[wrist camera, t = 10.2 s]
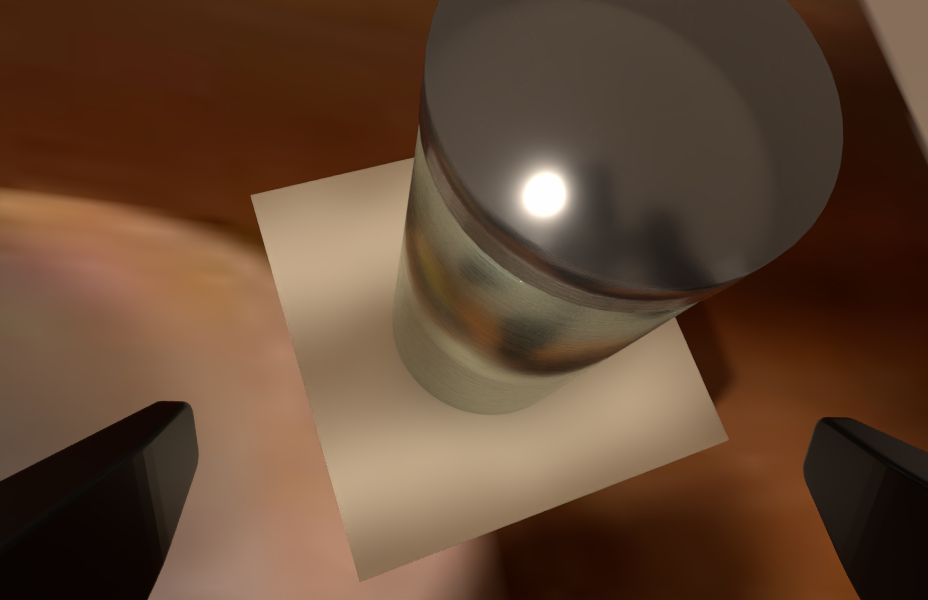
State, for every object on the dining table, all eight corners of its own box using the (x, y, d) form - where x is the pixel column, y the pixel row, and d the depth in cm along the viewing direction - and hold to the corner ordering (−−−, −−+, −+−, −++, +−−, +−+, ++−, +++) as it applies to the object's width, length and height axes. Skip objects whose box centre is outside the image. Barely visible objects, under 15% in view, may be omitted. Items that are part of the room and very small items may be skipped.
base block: (677, 448, 24) (728, 439, 20) (359, 569, 21) (359, 582, 18) (559, 165, 27) (588, 117, 23) (266, 238, 24) (250, 195, 20)
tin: (618, 338, 21) (921, 133, 10) (473, 458, 19) (638, 382, 8) (499, 197, 22) (646, -141, 10) (350, 299, 20) (333, 22, 9)
